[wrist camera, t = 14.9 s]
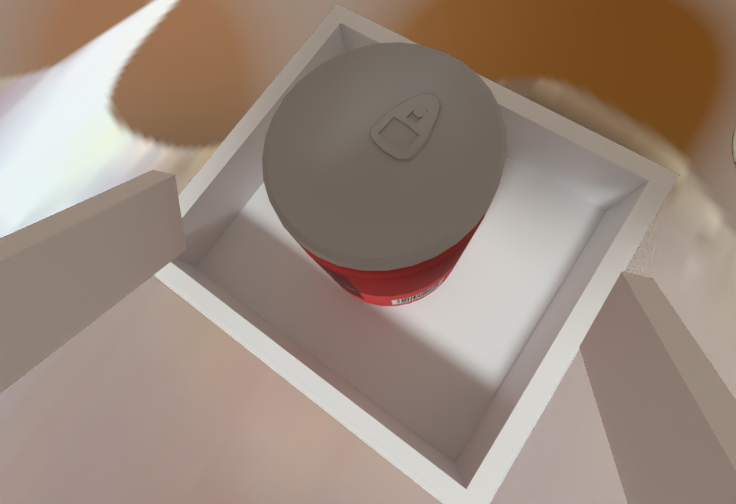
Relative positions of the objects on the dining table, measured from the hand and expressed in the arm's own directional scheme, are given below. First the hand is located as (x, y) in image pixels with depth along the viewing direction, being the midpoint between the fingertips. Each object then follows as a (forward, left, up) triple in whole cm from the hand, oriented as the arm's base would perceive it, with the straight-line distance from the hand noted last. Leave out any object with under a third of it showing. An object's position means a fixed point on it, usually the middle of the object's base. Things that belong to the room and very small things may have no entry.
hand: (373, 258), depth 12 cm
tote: (-2, +3, -12) cm, 12 cm away
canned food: (-2, +3, -11) cm, 11 cm away
